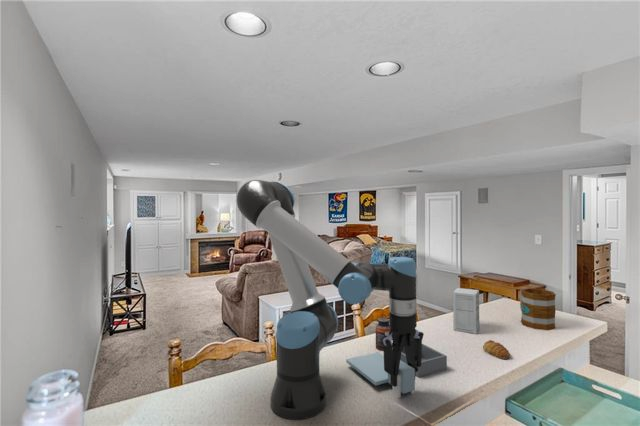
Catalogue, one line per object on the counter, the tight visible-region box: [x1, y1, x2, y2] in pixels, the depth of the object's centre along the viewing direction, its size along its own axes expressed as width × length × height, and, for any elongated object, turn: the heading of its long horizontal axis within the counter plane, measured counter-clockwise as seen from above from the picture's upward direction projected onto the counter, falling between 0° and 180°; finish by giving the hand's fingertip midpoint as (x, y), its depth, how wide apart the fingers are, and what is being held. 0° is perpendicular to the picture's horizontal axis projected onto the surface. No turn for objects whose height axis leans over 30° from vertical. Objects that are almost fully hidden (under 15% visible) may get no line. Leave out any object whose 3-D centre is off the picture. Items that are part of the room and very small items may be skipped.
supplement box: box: [452, 287, 480, 335], centre depth 149 cm, size 10×9×17 cm
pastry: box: [482, 339, 511, 360], centre depth 124 cm, size 9×7×4 cm
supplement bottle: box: [375, 317, 391, 352], centre depth 128 cm, size 6×6×11 cm
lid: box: [345, 351, 416, 395], centre depth 105 cm, size 13×24×6 cm, turn 26°
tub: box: [392, 343, 448, 379], centre depth 116 cm, size 12×16×5 cm
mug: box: [519, 287, 557, 331], centre depth 157 cm, size 20×14×15 cm
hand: (403, 394), depth 97 cm, fingers closed on lid, 4 cm apart
